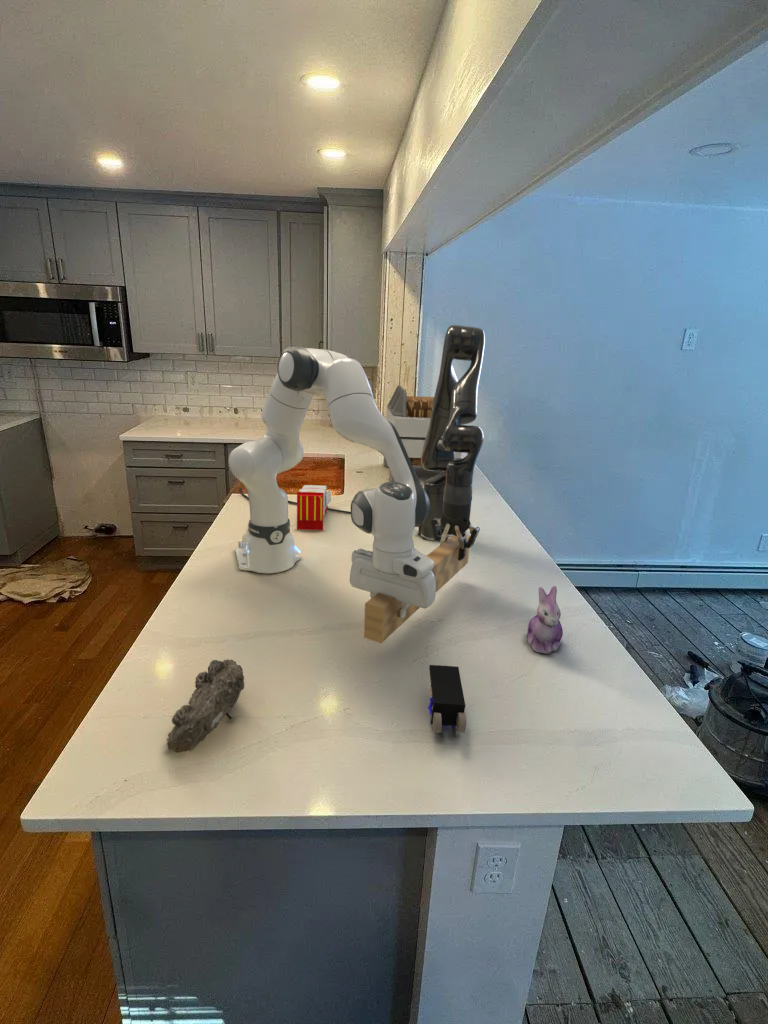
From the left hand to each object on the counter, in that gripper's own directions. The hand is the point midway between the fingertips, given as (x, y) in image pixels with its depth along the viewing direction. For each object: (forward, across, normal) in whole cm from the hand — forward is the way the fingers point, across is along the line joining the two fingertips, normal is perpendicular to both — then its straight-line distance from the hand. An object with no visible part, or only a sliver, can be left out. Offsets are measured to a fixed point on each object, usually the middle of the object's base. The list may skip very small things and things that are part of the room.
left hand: (390, 613), depth 128 cm
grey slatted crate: (+10, -60, +141) cm, 154 cm away
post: (+3, 0, +18) cm, 18 cm away
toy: (+10, -66, +62) cm, 91 cm away
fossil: (+10, -18, -38) cm, 43 cm away
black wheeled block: (+10, +20, -14) cm, 27 cm away
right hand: (0, 0, +36) cm, 36 cm away
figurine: (+10, +30, +23) cm, 39 cm away
